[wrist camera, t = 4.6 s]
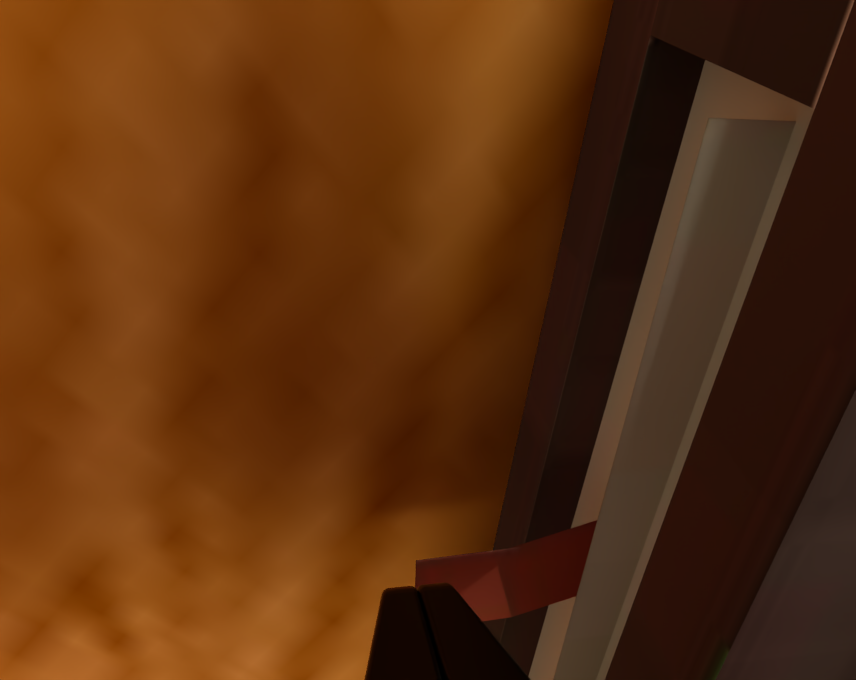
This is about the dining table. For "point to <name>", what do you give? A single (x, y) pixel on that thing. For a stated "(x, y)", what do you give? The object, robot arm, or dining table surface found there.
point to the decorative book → (693, 366)
